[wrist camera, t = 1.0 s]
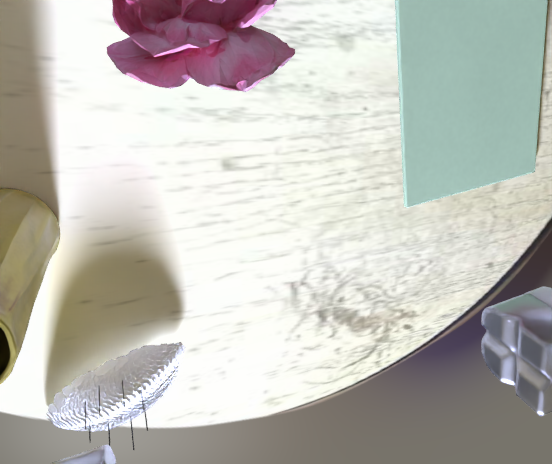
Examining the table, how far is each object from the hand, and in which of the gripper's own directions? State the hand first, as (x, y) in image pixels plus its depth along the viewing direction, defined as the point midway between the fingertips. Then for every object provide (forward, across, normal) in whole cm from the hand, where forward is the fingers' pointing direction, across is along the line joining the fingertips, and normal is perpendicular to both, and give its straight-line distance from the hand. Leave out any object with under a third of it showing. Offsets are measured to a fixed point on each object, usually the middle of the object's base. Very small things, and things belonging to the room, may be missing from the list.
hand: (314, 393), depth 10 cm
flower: (+27, -3, -8) cm, 28 cm away
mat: (+27, -24, -1) cm, 36 cm away
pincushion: (+27, +9, +17) cm, 33 cm away
